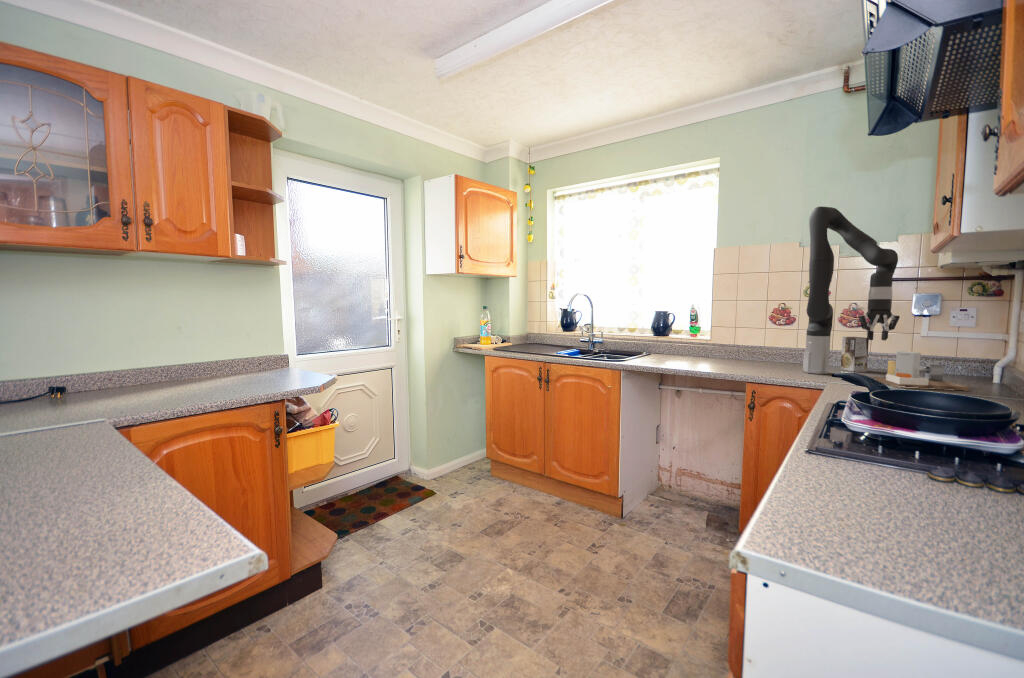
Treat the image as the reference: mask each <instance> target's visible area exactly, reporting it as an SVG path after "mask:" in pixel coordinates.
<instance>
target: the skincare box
mask: <svg viewBox="0 0 1024 678" xmlns="http://www.w3.org/2000/svg"><path fill="white" fill-rule="evenodd" d="M921 356H922V353H921V352H917V351H916V352H915V351H906V350H905V351H904V350H903V351H901V350H900V351H896V358H895V361H896V367H895V376H898V377H903V378H919V376H920V372H919V368H920V367H921V365H920V364H921Z"/></svg>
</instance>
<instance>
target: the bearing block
mask: <svg viewBox="0 0 1024 678" xmlns="http://www.w3.org/2000/svg"><path fill="white" fill-rule="evenodd" d="M944 366H945V365H944V364H942V363H937V362H936V363H935V362H924V363H923V367H930V370H929V372H922V373H923V376H922V377H924V378H928V379H929V380H930V381H944V380H943V379H944V378H943V377H944Z"/></svg>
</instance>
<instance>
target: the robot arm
mask: <svg viewBox="0 0 1024 678" xmlns="http://www.w3.org/2000/svg"><path fill="white" fill-rule="evenodd" d="M808 225H809V237H810V238H809V239H810V242H809V243H810V244H809V246H810V247H809V261H808V262H809V263H808V264H809V266H808V279H809V280H808V281H809V282H808V283H809V293H808V300H807V306H806V314H807V317H808V325H807V329H806V334H805V335H806V338H805V350H804V351H803V358H802V359H803V362H802V363H803V364H802V372H805V373H807V374H809V373H810V374H817V375H818V374H819V375H820V374H821V375H823V374H824V375H825V374H829V369H830V368H829V367H830V353H831V352H830V351H831V336H832V334H831V333H832V329H833V320H834V308H833V306H832V305H831V303H830V296H829V295H830V293H829V291H830V286H831V282H832V279H833V275H834V267H835V256H834V255H835V254H834V252H833V248H832V247H831V245H830V242H829V239H828V230H831V231H834V232H835V233H837V234H838V235H840V236H841V238H842V239H843V240H844V242H845V243H846V244H847V245H848V246H849V247H850V248H852V249H853V250H855V251H856V252H857V253H859V254H860V255H861V257H862V258H863V259H864V260H865V261H866V262H867V263H868V264H870V265H872V266H874V267H876V271H875V272H874V273H872V274H871V275H870V281H869V291H868V295H867V297H868V298H867V312H866V313H865V314H861V315H858V320H859V323H860V326H861V329H862V330H866V331H867V333H866V338H868V339H869V341H873V340H874V333H875V331H874V329H875V327H876V325H877V324H880V326H881V329H882V331H881V339H880V340H881V341H887V339H888V338H889V331H893V330H895V328H896V325H897V324H898V322H899V319H900V316H899V315H895V314H892V303H893V302H892V301H893V280H894V279H893V277H894V274H895V271H896V268H897V266H898V263H899V255H898V253H897V251H896V250H894V249H891V248H883V247H880V246H879V245H878V242H877V240H876V239H875V238H873V237H871V236H870V235H869V234H867V233H866V232H864V231H862V230H861V229H860V228H858V227H856V225H854V224H853V223H852V222H851V221H850V220H848V219H847V218H846V217H845V215H843V213H842V212H840V210H839V209H838V208H835V207H832V206H816V207H815V208H814V209H813V210H811V212H810V214H809V218H808ZM867 318H868V322H867ZM888 320H890V322H889V321H888Z"/></svg>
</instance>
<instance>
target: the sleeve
mask: <svg viewBox="0 0 1024 678" xmlns="http://www.w3.org/2000/svg"><path fill="white" fill-rule="evenodd" d="M885 377H886V380H887V381H890V382H894V383H897V384H908V385H928V381H929V379H928V378H924V377H923V376H920V375H919V378H903V377H898V376H895V374H887V373H886V374H885Z"/></svg>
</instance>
